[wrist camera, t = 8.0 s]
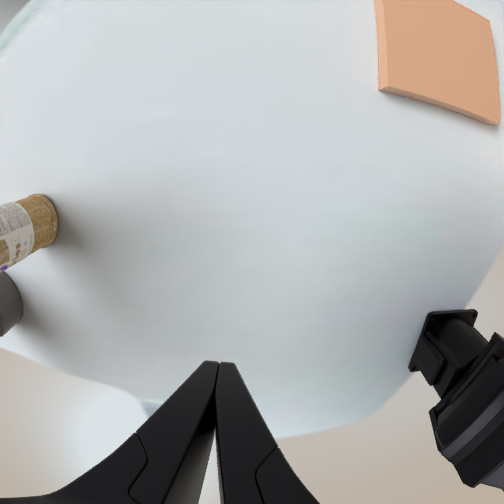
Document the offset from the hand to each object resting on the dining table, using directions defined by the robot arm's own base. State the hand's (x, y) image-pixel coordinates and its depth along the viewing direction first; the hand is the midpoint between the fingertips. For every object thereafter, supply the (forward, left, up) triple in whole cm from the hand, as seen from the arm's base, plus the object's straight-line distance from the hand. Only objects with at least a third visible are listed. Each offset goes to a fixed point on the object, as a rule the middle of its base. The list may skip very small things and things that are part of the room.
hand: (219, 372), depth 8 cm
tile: (-14, -16, -12) cm, 25 cm away
